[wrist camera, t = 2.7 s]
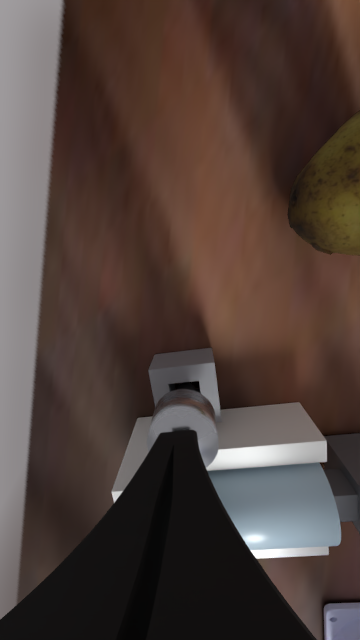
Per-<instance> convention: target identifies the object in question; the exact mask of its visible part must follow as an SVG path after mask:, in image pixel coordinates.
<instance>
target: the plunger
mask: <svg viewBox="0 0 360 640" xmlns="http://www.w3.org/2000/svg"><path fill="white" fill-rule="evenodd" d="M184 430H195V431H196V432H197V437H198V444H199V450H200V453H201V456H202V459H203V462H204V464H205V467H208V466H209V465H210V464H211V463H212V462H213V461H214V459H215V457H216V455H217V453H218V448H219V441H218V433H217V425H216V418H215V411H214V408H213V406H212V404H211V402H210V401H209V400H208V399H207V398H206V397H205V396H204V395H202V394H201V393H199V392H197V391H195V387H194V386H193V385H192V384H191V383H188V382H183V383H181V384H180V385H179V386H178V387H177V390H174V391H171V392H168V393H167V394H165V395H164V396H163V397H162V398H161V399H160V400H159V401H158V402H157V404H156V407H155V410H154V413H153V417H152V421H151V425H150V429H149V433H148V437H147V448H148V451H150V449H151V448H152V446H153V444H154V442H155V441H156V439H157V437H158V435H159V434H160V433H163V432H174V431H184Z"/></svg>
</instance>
